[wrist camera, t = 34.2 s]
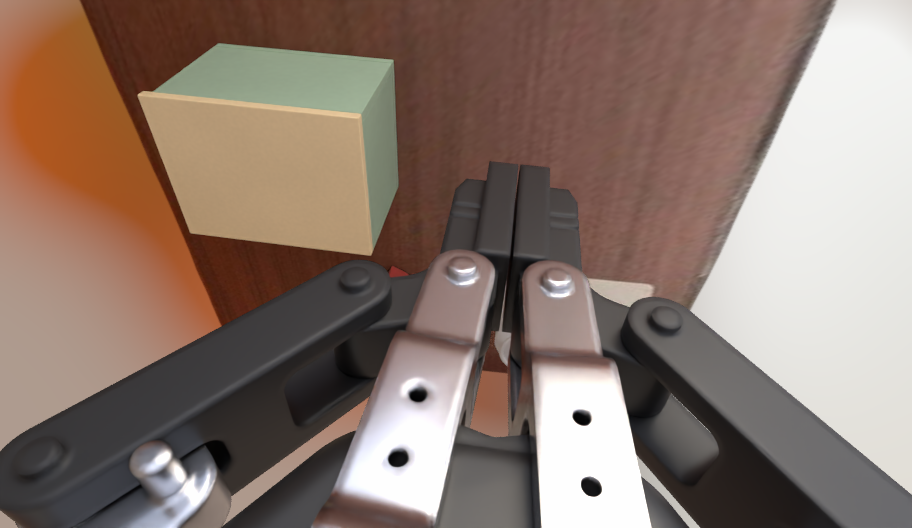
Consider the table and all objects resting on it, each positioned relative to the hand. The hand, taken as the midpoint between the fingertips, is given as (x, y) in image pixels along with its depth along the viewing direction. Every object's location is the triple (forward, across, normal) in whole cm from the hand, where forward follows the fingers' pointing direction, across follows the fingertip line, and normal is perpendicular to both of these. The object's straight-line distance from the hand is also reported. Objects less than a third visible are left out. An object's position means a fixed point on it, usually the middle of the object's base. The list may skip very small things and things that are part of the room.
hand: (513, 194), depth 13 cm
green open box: (+35, +20, +17) cm, 44 cm away
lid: (+24, +20, +17) cm, 36 cm away
